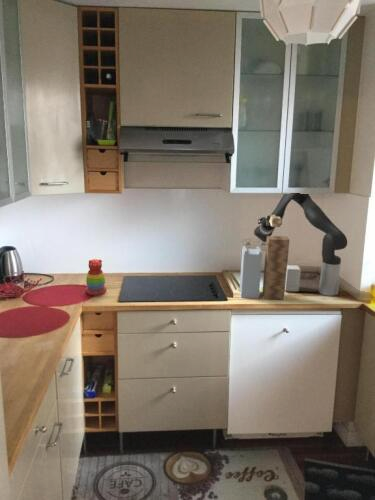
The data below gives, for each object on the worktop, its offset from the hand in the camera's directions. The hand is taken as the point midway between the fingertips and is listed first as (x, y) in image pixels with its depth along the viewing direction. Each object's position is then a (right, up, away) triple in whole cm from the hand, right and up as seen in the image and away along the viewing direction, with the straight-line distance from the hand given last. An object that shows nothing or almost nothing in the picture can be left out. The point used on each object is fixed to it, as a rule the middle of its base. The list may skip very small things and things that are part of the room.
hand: (273, 216), depth 231 cm
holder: (-13, -41, -2) cm, 43 cm away
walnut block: (-1, -42, -6) cm, 43 cm away
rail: (0, -4, -2) cm, 4 cm away
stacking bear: (-93, -40, -5) cm, 101 cm away
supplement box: (+11, -39, +7) cm, 41 cm away
